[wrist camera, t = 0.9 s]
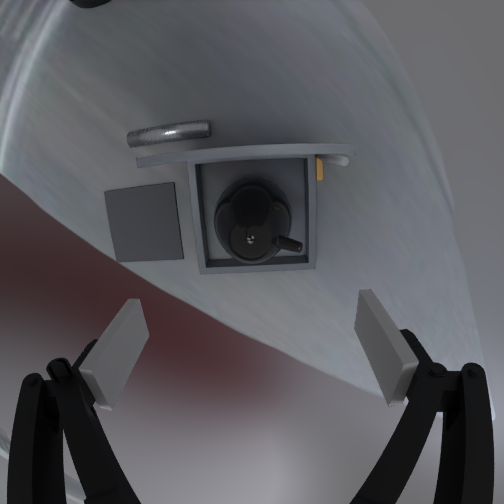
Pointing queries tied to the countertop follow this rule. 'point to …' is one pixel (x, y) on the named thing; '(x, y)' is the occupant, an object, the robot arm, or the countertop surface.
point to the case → (309, 152)
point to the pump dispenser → (254, 221)
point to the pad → (144, 223)
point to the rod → (169, 133)
